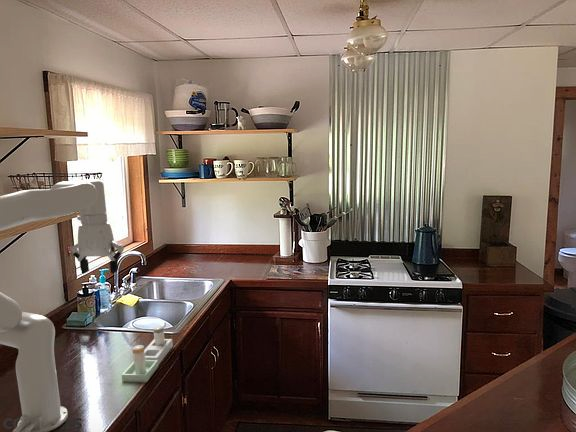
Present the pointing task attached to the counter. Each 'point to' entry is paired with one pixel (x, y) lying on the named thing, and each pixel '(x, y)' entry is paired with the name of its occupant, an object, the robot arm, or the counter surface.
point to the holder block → (158, 350)
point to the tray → (132, 377)
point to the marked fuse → (139, 359)
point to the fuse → (159, 336)
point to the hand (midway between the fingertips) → (99, 272)
